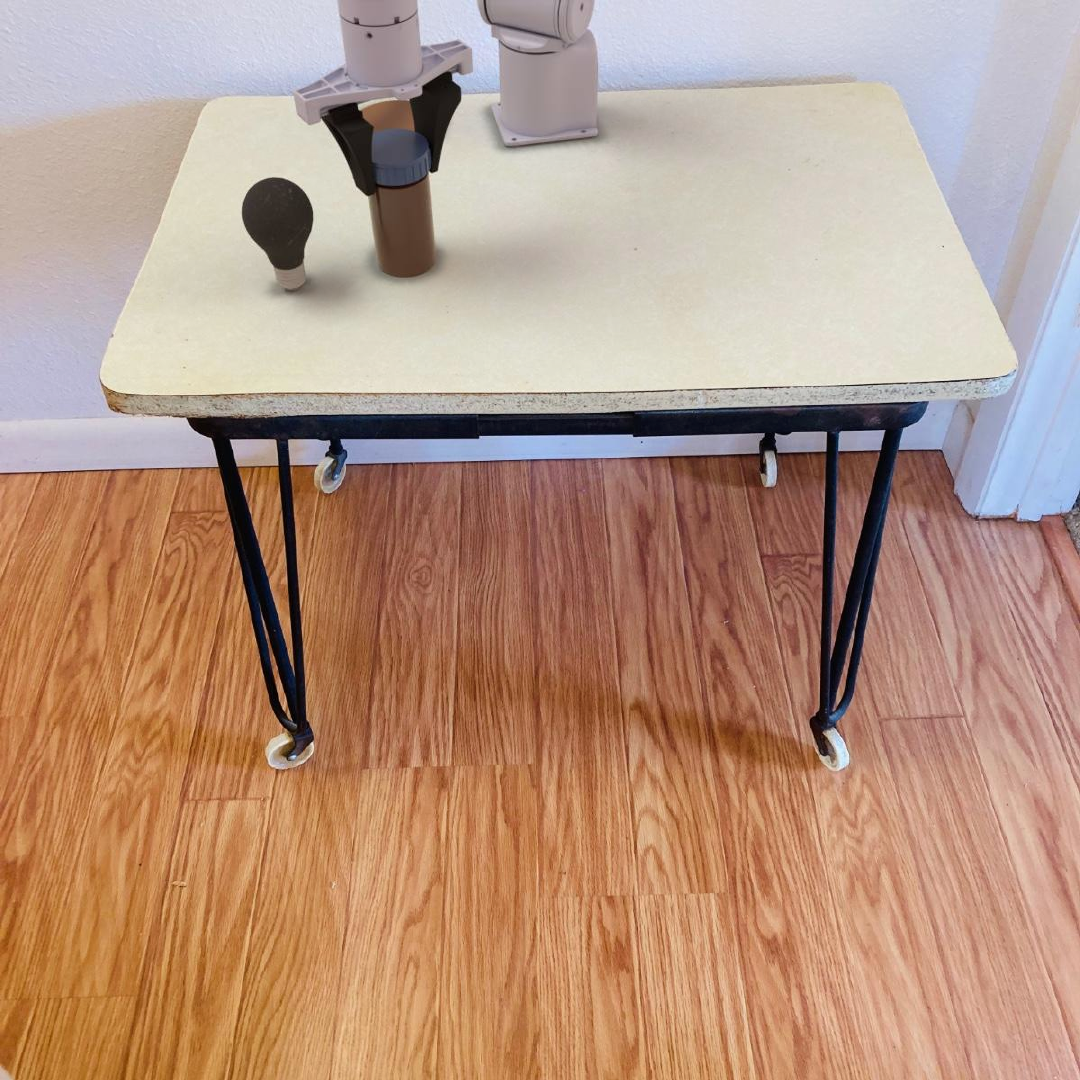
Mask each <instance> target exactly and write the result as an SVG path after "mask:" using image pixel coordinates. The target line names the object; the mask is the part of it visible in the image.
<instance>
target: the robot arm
mask: <svg viewBox="0 0 1080 1080" xmlns="http://www.w3.org/2000/svg"><path fill="white" fill-rule="evenodd" d="M336 2H337V9H338V16H339V22H340V30H341V37H342V44H343V51H344V59H345V63H344V64H342V65H341V66H338V67H337V68H336V69H334V70H332V71H331V72H329V73H327V74H325V75H323V76H321V77H320V78H318V79H317V80H315V81H313V82H311V83H309V84H307V85H305V86H302V87H300V88H296V89H293V90H292V93H293V98H294V105H295V110H296V115H297V116H298V118H300V119H301V120H302V121H303V122H304V123H305V124H307V125H308V126H312V125H315V124H319V123H321V121H322V123H324V125H325V126H326V128H327V129H328V131H329V132H330V134H331V135H332V137H333V138H334V140H335V142H336V143H337V146H338V147H339V149H340V150H341V153H342V154H343V157H344V158H345V161H346V164H347V165H348V168H349V170H350V173H351V175H352V179H353V182H354V184H355V187H356V188H357V189H358V190H359V191H360V192H361V193H362V194H364V195H365V197H368V196H371V195H374V194H375V179H374V172H373V166H372V136H373V130H374V126H372V125H371V124H370V123H369V122H368V121H366V120H365V119H364V118H363V113H362V111H360V109H359V105H362V104H365V103H368V102H371V101H377V100H384V99H392V98H395V100H400V101H405V100H407V101H410V105H411V110H412V115H413V120H414V130H415V132H418V133H420V134H421V135H423V136H424V137H425V138H426V139H427V141H428V144H429V149H430V154H431V164H430V165H431V169H430V170H429V174H434V173H437V172H438V171H439V167H440V161H441V157H442V156H441V155H442V151H443V146H444V143H445V142H444V141H445V138H446V135H447V131H448V129H449V126H450V124H451V121H452V118H453V117H454V114H455V112H456V110H457V109H458V107H459V105H460V104H461V102H462V87H461V86H460V85H459V84H458V83H456V82H455V81H454V80H453V75H454V74H459V75H460V76H465V75H469V74H471V73H473V72H474V65H473V64H474V63H473V61H474V60H473V48H472V47H470V46H469V45H468V44H466V43H465V42H463V41H462V40H460V39H454V40H450V41H446V42H440V43H434V44H433V43H431V44H426V45H424V44H423V45H421V32H420V19H419V8H418V0H336ZM476 4H477V9H478V12H479V14H480V17H481V19H482V21H483V22H484V23H485V24H486V25H487V26H488V25H489V26H490V30H491V31H490V33H491V37H492V38H494V39H497V40H498V41H497V42H498V69H499V71H498V72H499V101H498V102H493V103H492V104H490V110H491V112H492V114H493V117H494V120H495V122H496V125H497V128H498V130H499V133H500V136H501V139H502V142H503V144H504V145H505V146H507V147H514V146H524V145H530V144H539V143H549V142H557V141H566V140H567V141H568V140H573V139H583V138H591V137H597V136H598V134H599V130H598V127H597V118H598V117H597V116H598V113H597V112H598V95H599V93H598V92H599V55H598V49H597V43H596V39H595V36H594V34H593V32H592V30H591V29H589V26H590V23H591V20H592V18H593V14H594V8H595V0H476Z"/></svg>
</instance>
